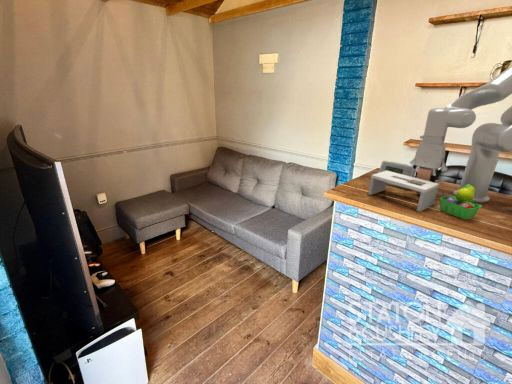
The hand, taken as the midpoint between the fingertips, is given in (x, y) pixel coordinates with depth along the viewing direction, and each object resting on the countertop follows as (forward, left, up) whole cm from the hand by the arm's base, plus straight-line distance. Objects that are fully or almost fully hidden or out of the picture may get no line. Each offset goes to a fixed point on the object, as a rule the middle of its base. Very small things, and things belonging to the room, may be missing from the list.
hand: (424, 181), depth 117 cm
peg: (0, 0, -5) cm, 5 cm away
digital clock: (-4, -15, -7) cm, 17 cm away
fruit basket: (+7, +17, -7) cm, 19 cm away
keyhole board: (+12, -4, -7) cm, 14 cm away
